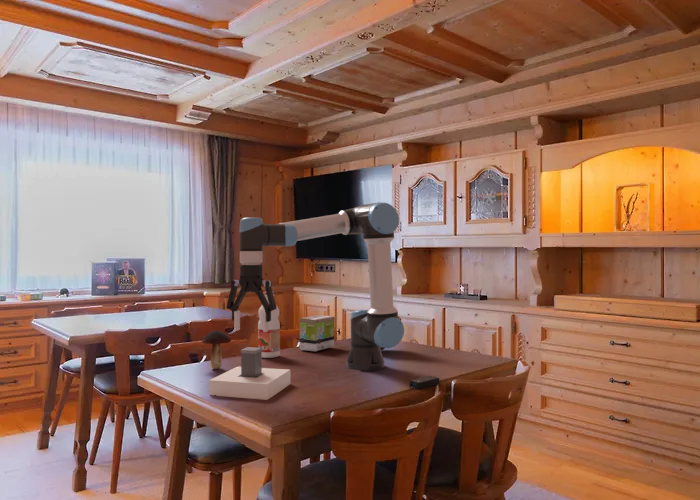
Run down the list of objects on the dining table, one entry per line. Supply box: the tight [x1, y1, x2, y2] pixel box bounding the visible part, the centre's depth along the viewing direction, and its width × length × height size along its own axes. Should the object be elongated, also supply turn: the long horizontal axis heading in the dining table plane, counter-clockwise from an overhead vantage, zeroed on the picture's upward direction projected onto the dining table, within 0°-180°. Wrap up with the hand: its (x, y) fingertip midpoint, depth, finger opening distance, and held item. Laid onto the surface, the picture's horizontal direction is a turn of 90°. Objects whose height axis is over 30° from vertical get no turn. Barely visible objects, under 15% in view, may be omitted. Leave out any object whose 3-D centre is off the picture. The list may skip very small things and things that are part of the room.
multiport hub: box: [409, 375, 440, 390], centre depth 184 cm, size 4×11×2 cm, turn 130°
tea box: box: [299, 314, 336, 352], centre depth 249 cm, size 15×10×15 cm, turn 148°
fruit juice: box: [257, 291, 281, 359], centre depth 232 cm, size 9×9×28 cm
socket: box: [208, 366, 291, 401], centre depth 178 cm, size 20×20×5 cm
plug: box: [240, 346, 263, 378], centre depth 177 cm, size 5×5×10 cm
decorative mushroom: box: [201, 330, 232, 370], centre depth 207 cm, size 11×11×15 cm
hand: (251, 330), depth 177 cm, fingers open, 10 cm apart
